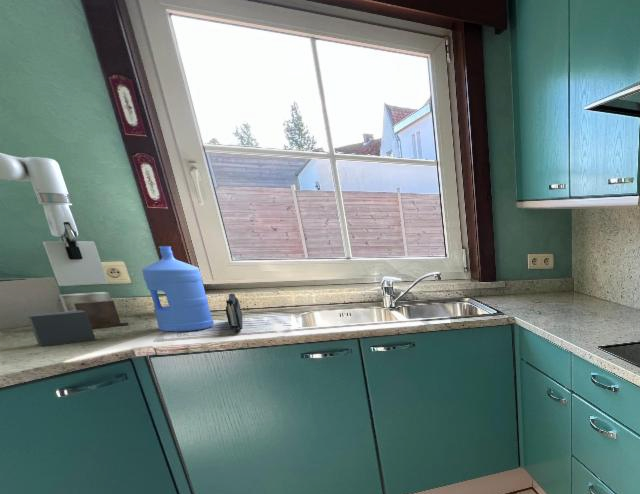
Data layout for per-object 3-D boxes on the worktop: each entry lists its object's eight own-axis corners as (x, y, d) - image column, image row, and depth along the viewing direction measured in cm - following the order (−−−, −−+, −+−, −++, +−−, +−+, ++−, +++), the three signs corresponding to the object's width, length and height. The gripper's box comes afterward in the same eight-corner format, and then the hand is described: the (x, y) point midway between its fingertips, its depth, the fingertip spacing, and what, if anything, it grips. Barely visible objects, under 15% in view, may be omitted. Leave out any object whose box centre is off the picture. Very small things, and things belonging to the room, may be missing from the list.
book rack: (75, 330, 168) (63, 298, 164) (65, 326, 174) (54, 294, 170) (128, 325, 179) (118, 294, 175) (117, 321, 185) (107, 291, 181)
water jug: (215, 322, 188) (195, 245, 177) (213, 330, 176) (191, 247, 165) (162, 325, 180) (138, 245, 169) (156, 333, 167) (129, 247, 157)
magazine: (227, 296, 191) (218, 280, 166) (237, 295, 193) (230, 280, 168) (237, 340, 194) (230, 331, 168) (247, 339, 195) (241, 330, 170)
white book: (60, 286, 164) (44, 241, 159) (58, 285, 165) (42, 241, 160) (108, 283, 174) (94, 241, 168) (106, 283, 175) (92, 241, 169)
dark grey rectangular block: (42, 346, 148) (30, 316, 144) (38, 344, 150) (26, 314, 146) (96, 340, 157) (86, 311, 154) (91, 338, 159) (81, 310, 156)
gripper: (31, 199, 161) (53, 258, 167) (44, 199, 153) (66, 261, 159) (63, 200, 166) (83, 257, 173) (77, 200, 158) (97, 260, 165)
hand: (74, 258), depth 166 cm, fingers closed on white book, 2 cm apart
